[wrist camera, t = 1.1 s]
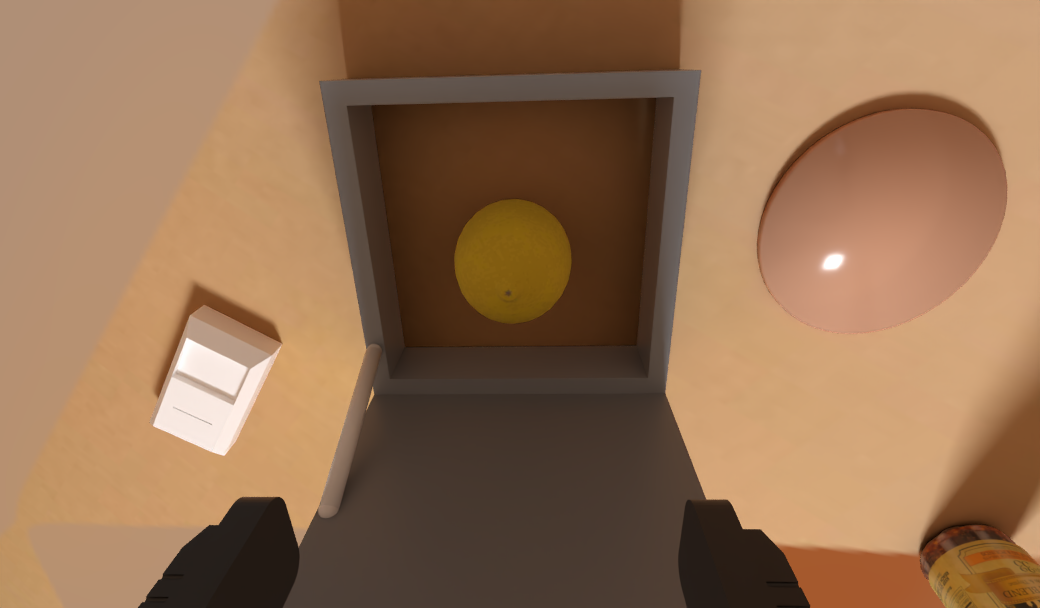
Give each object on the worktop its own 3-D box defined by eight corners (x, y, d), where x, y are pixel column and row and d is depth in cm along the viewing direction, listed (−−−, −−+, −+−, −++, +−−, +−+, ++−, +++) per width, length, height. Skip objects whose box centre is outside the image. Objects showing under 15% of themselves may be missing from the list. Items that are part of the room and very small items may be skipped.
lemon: (527, 162, 26) (523, 199, 19) (586, 245, 28) (603, 308, 21) (445, 223, 28) (412, 279, 21) (506, 298, 30) (496, 374, 22)
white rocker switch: (167, 405, 34) (139, 430, 32) (208, 301, 31) (180, 321, 28) (238, 437, 35) (217, 464, 33) (285, 340, 32) (264, 363, 29)
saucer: (779, 111, 25) (784, 112, 24) (1035, 105, 25) (1047, 106, 24) (741, 329, 30) (744, 334, 30) (953, 327, 30) (960, 333, 29)
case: (347, 79, 25) (-114, 114, 7) (679, 69, 24) (1055, 84, 7) (392, 372, 32) (214, 750, 14) (651, 371, 31) (795, 764, 14)
